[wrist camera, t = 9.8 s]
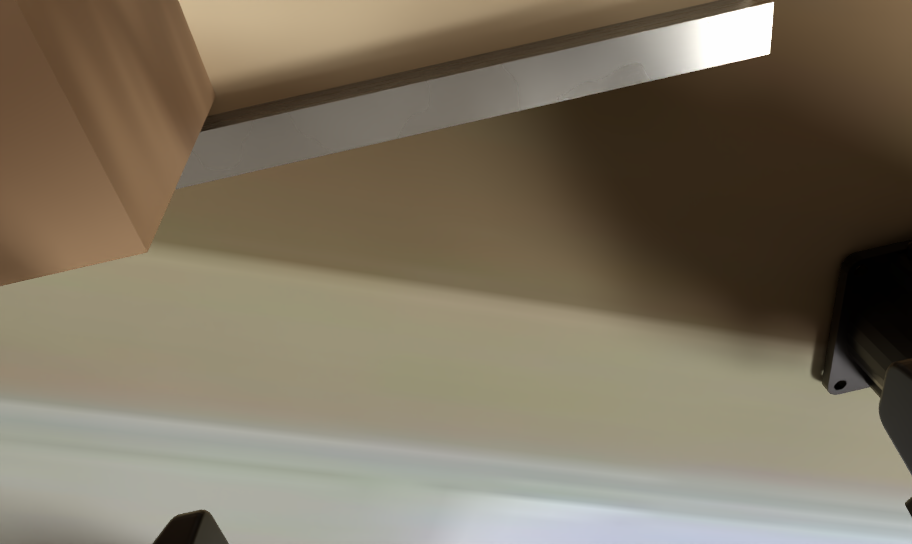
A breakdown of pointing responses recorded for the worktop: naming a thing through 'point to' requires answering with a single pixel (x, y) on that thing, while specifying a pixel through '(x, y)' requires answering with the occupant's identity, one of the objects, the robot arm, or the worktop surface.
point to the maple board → (372, 37)
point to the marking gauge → (92, 128)
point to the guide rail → (478, 87)
